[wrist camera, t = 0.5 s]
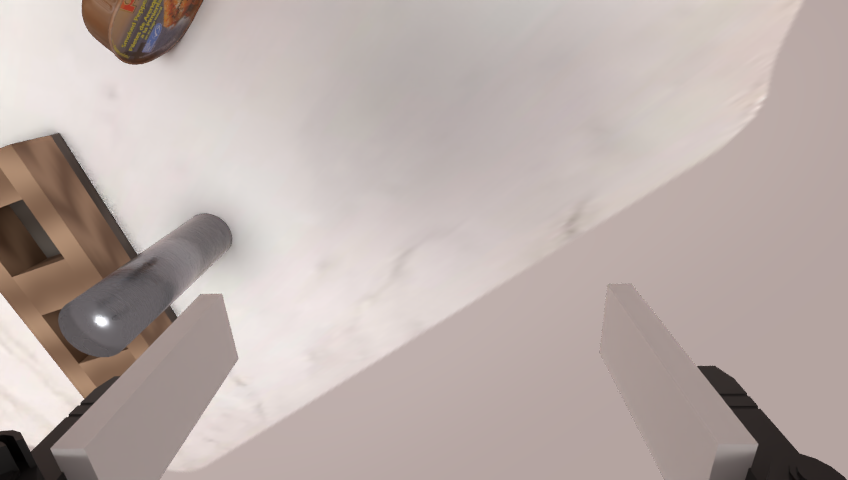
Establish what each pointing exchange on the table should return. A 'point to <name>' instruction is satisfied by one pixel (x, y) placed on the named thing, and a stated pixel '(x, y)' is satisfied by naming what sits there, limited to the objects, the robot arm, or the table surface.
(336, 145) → the table surface
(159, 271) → the pin
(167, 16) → the tin
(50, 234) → the bore block
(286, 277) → the table surface
